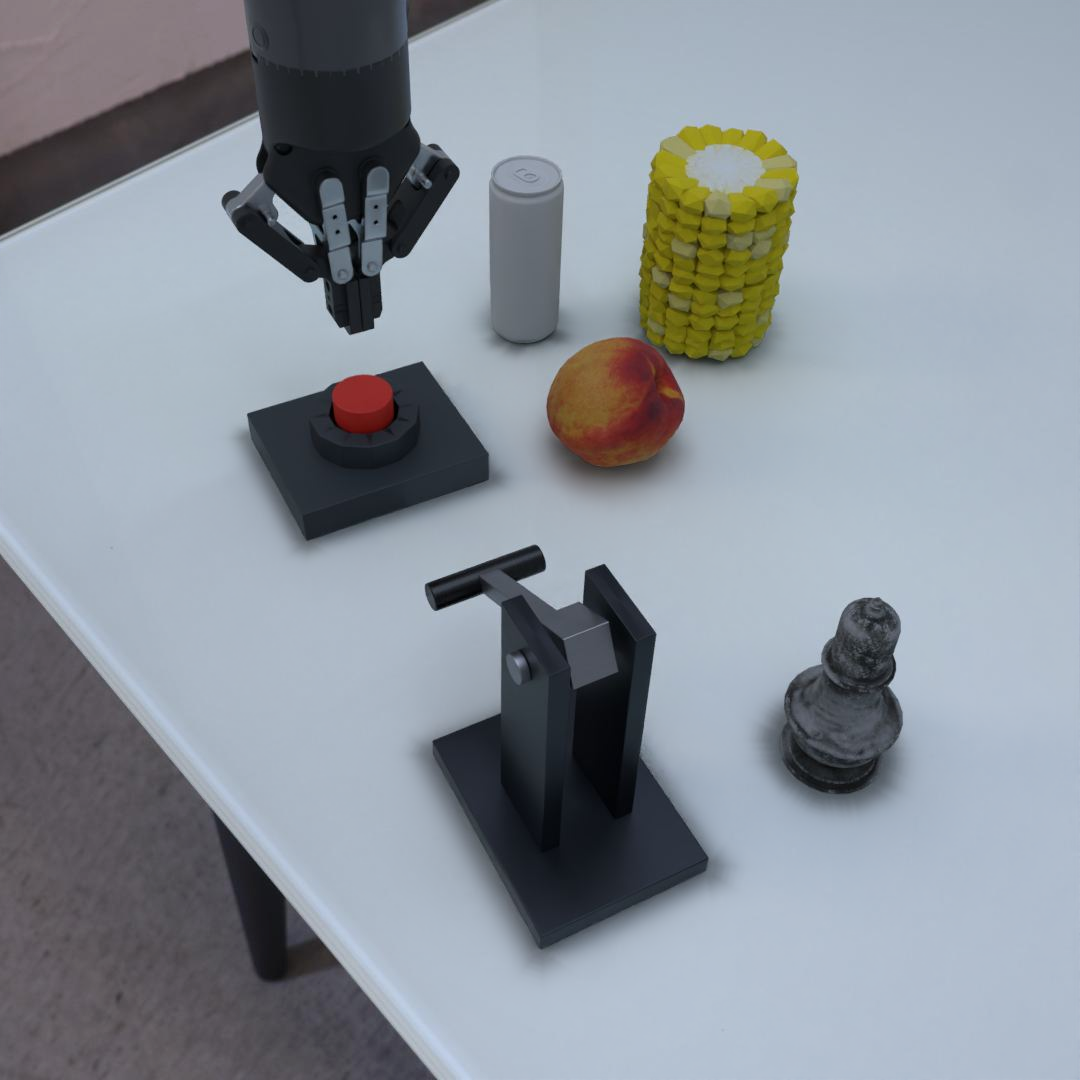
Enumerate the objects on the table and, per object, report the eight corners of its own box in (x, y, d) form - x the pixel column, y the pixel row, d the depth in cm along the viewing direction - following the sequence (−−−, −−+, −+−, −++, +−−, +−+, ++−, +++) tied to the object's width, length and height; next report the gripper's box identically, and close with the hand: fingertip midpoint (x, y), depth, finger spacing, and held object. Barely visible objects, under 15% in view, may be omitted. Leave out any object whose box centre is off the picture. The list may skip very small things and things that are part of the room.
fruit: (634, 512, 80) (644, 412, 74) (522, 461, 82) (524, 361, 77) (694, 440, 84) (709, 341, 78) (587, 394, 87) (593, 295, 81)
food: (762, 312, 96) (747, 403, 90) (611, 260, 96) (585, 349, 89) (848, 139, 85) (838, 230, 78) (677, 79, 84) (652, 166, 78)
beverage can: (521, 356, 90) (523, 202, 81) (475, 323, 92) (473, 171, 83) (572, 328, 92) (580, 176, 83) (526, 296, 94) (529, 146, 86)
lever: (430, 615, 64) (419, 571, 63) (538, 575, 66) (529, 531, 65) (532, 706, 54) (521, 655, 53) (657, 656, 56) (648, 606, 55)
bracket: (432, 753, 67) (420, 557, 56) (586, 691, 70) (602, 493, 59) (540, 950, 60) (549, 767, 49) (706, 870, 63) (749, 682, 52)
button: (347, 441, 78) (345, 419, 77) (325, 406, 80) (323, 384, 79) (403, 424, 79) (401, 402, 78) (380, 389, 81) (378, 367, 80)
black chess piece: (764, 781, 66) (803, 630, 58) (784, 692, 70) (823, 538, 62) (880, 812, 65) (938, 662, 57) (894, 720, 69) (950, 567, 61)
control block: (306, 541, 77) (298, 492, 74) (251, 439, 83) (242, 390, 80) (489, 479, 81) (489, 431, 78) (424, 386, 87) (421, 338, 84)
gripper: (424, -27, 67) (434, 262, 79) (168, 20, 62) (222, 318, 75) (488, 34, 62) (489, 330, 75) (217, 89, 58) (266, 395, 70)
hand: (355, 324), depth 75 cm, fingers closed
